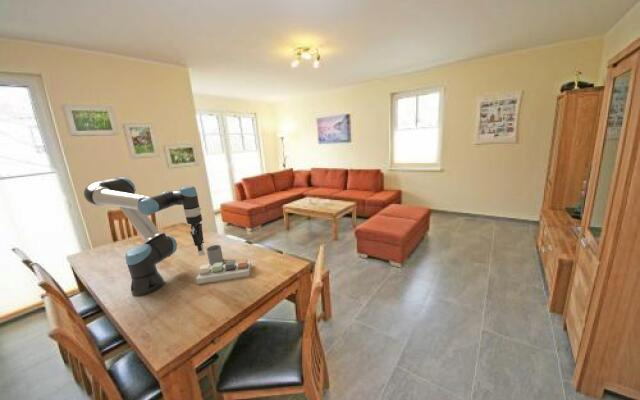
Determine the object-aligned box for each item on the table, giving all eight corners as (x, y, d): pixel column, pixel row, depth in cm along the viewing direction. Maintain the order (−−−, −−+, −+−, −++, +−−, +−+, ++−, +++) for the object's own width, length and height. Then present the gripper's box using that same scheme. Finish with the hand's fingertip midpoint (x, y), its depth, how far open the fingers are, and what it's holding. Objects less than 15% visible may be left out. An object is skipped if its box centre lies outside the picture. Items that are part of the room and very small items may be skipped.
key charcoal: (226, 272, 142) (225, 265, 141) (227, 267, 147) (226, 261, 146) (234, 270, 143) (233, 264, 142) (236, 266, 148) (235, 260, 147)
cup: (218, 265, 156) (215, 251, 154) (206, 265, 158) (203, 250, 155) (225, 259, 164) (223, 245, 162) (214, 258, 166) (211, 244, 163)
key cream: (200, 275, 140) (198, 269, 139) (202, 271, 145) (201, 265, 144) (209, 274, 141) (207, 268, 140) (211, 270, 145) (210, 263, 144)
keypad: (197, 284, 137) (196, 278, 136) (203, 273, 149) (202, 267, 148) (249, 276, 142) (248, 270, 141) (251, 265, 153) (250, 260, 152)
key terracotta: (238, 270, 143) (237, 263, 142) (239, 265, 148) (238, 259, 147) (247, 268, 144) (246, 262, 143) (248, 264, 149) (247, 258, 148)
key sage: (213, 273, 141) (212, 267, 140) (215, 269, 146) (213, 263, 145) (222, 272, 142) (220, 266, 141) (223, 268, 147) (222, 262, 145)
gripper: (197, 218, 128) (206, 259, 134) (204, 210, 140) (211, 249, 147) (181, 220, 127) (191, 261, 133) (189, 212, 139) (198, 250, 145)
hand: (202, 254), depth 140 cm, fingers closed
